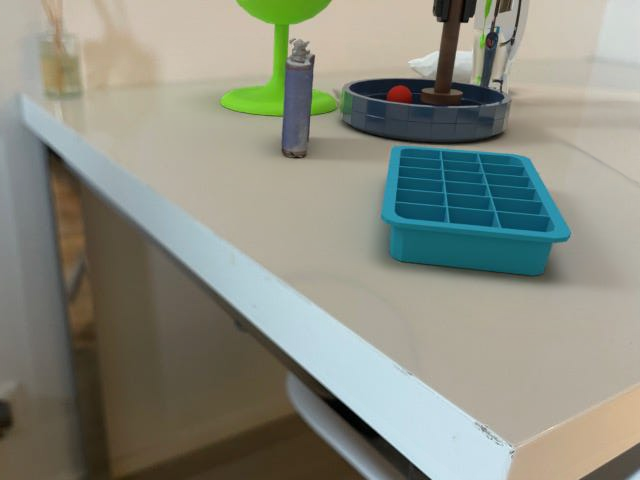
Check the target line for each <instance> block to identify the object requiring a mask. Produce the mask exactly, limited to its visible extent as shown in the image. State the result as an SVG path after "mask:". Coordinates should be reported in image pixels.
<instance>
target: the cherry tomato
mask: <svg viewBox="0 0 640 480" xmlns="http://www.w3.org/2000/svg"><path fill="white" fill-rule="evenodd" d="M387 101H389V102H397V103H405V104H411V102H412V94H411V92H410V90H409V89H408V88H407V87H404V86H396V87H394V88H392V89H391V90H390V91H389V92H388V94H387Z"/></svg>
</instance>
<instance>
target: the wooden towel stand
mask: <svg viewBox="0 0 640 480" xmlns="http://www.w3.org/2000/svg"><path fill="white" fill-rule="evenodd" d="M463 5H464V0H450V2H449V9H448V16H447V21H446V23H444V22H442V31H441V37H440V44H439V50H438V51H439V58H438V65H437V72H436V79H435V86H434V88H425V89H422V90H421V98H420V100H421V101H423V102H425V103H430V104H437V105H457V104H460V103H461V102H462V96H463V92H461V91H458V90H454V89H451V85H452V78H453V72H454V65H455V58H456V52H457V51H458V44H459V37H460V32H461V31H460V30H461V25H462V23H461V18H462V12H463Z"/></svg>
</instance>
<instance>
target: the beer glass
mask: <svg viewBox="0 0 640 480" xmlns="http://www.w3.org/2000/svg"><path fill="white" fill-rule="evenodd" d="M530 1H531V0H477V3H476V10H475V14H474V16H473V18H472V26H471V52H472V68H471V76H470V81H469V83H471V84H477V85H482V86H487V87H491V88H494V89H497V90H501V91H503V92H505V93H507V94H509V85H510V84H509V83H510V77H511V73H512V70H513V66H514V64H515V62H516V58H517V55H518V53H519V50H520V48H521V44H522V41H523V38H524V35H525V31H526V28H527V22H528V18H529V17H528V15H529V10H530Z"/></svg>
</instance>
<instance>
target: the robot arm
mask: <svg viewBox="0 0 640 480" xmlns="http://www.w3.org/2000/svg"><path fill="white" fill-rule="evenodd" d="M449 2H450V0H433V6H432V11H431V12H432V16H433V17H435V18H436V22H438V23H443V22H444V23H446V21H447V16H448V9H449ZM476 4H477V0H464V5H463V12H462V18H461V24H469V22H470V19H473V18H474V14H475V10H476Z"/></svg>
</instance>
